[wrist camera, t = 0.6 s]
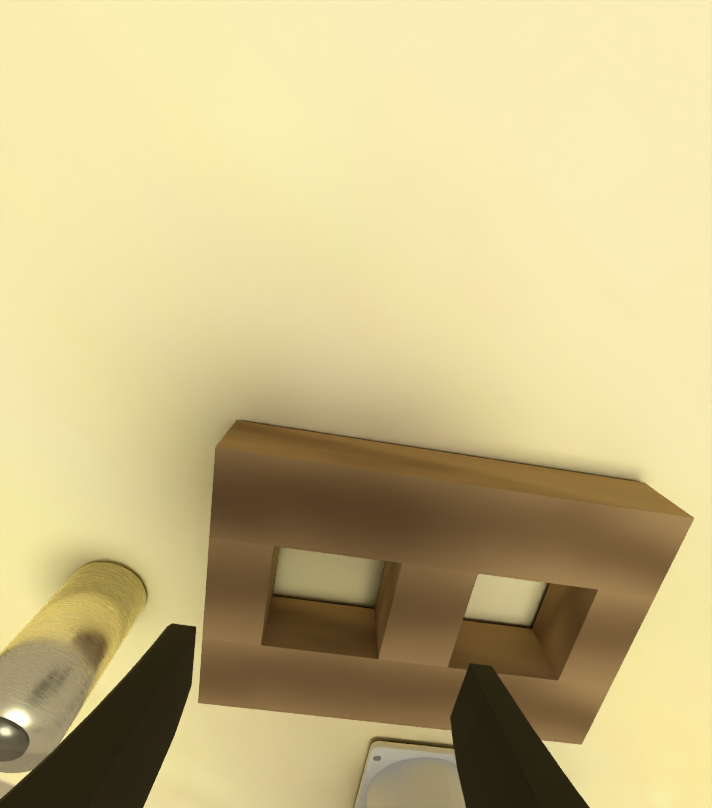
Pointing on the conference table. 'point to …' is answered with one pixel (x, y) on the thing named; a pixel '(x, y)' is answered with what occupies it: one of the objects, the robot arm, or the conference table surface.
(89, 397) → the conference table surface
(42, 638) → the battery
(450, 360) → the conference table surface
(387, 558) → the jig plate
